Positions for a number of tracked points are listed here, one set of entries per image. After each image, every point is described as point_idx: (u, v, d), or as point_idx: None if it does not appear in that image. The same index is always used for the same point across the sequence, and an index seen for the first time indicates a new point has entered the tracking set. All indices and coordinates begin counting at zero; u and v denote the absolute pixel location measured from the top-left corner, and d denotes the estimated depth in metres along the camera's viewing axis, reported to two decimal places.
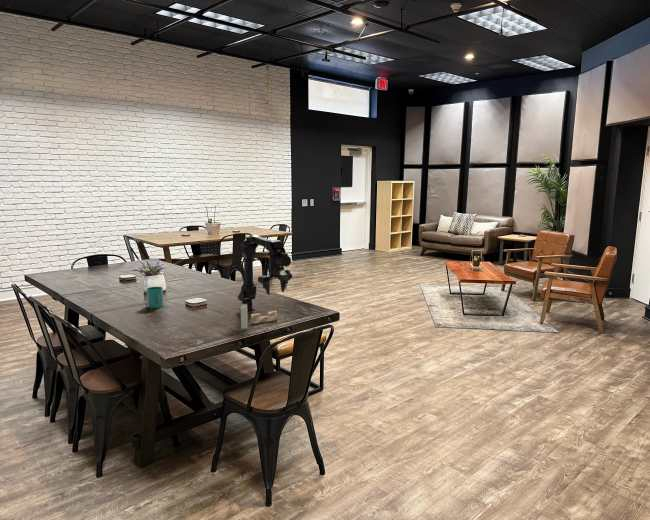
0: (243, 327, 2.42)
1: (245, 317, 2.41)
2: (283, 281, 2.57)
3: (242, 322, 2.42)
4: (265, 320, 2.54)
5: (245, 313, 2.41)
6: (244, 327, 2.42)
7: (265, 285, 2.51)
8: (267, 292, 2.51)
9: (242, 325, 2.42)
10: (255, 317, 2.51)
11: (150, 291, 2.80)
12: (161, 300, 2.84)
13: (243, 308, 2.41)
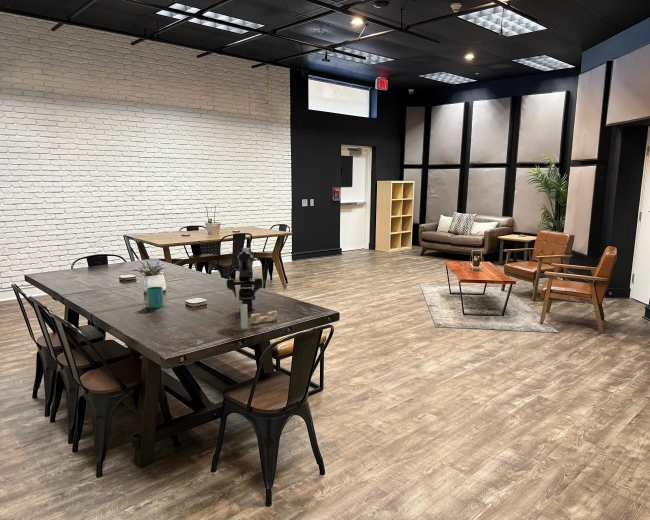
0: (243, 327, 2.42)
1: (245, 317, 2.41)
2: (254, 286, 2.56)
3: (242, 322, 2.42)
4: (265, 320, 2.54)
5: (245, 313, 2.41)
6: (244, 327, 2.42)
7: None
8: None
9: (242, 325, 2.42)
10: (255, 317, 2.51)
11: (150, 291, 2.80)
12: (161, 300, 2.84)
13: (243, 308, 2.41)
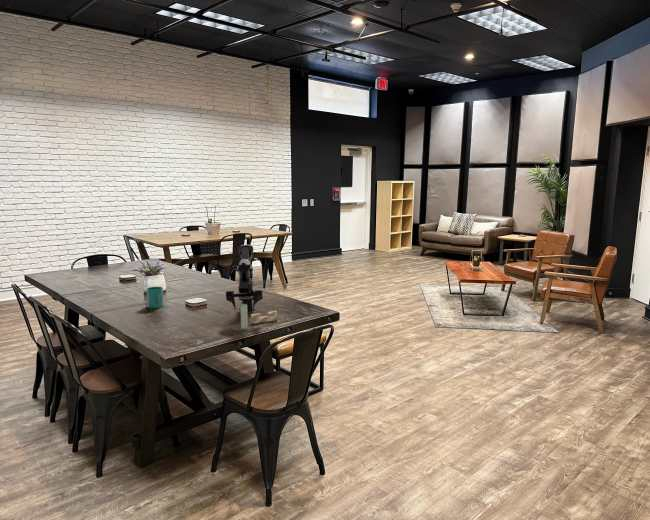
0: (243, 327, 2.42)
1: (245, 317, 2.41)
2: (254, 298, 2.50)
3: (242, 322, 2.42)
4: (265, 320, 2.54)
5: (245, 313, 2.41)
6: (244, 327, 2.42)
7: (233, 302, 2.49)
8: (234, 307, 2.46)
9: (242, 325, 2.42)
10: (255, 317, 2.51)
11: (150, 291, 2.80)
12: (161, 300, 2.84)
13: (243, 308, 2.41)
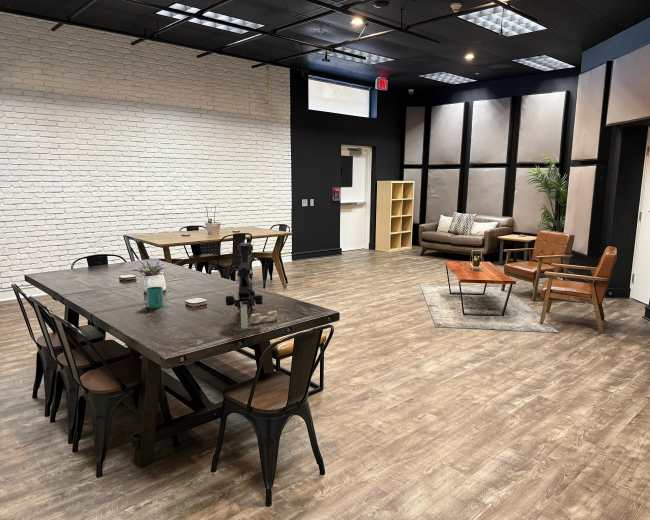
0: (243, 327, 2.42)
1: (245, 317, 2.41)
2: (248, 304, 2.47)
3: (242, 322, 2.42)
4: (265, 320, 2.54)
5: (245, 313, 2.41)
6: (244, 327, 2.42)
7: None
8: None
9: (242, 325, 2.42)
10: (255, 317, 2.51)
11: (150, 291, 2.80)
12: (161, 300, 2.84)
13: (243, 308, 2.41)
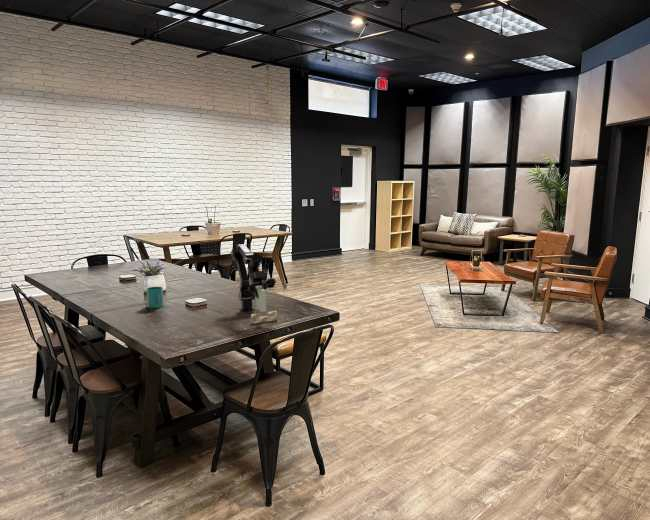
0: (262, 310, 2.49)
1: (264, 300, 2.49)
2: (262, 287, 2.54)
3: (261, 305, 2.48)
4: (265, 320, 2.54)
5: (264, 296, 2.48)
6: (263, 310, 2.49)
7: (253, 291, 2.53)
8: (256, 296, 2.51)
9: (262, 308, 2.49)
10: (255, 317, 2.51)
11: (150, 291, 2.80)
12: (161, 300, 2.84)
13: (262, 291, 2.48)
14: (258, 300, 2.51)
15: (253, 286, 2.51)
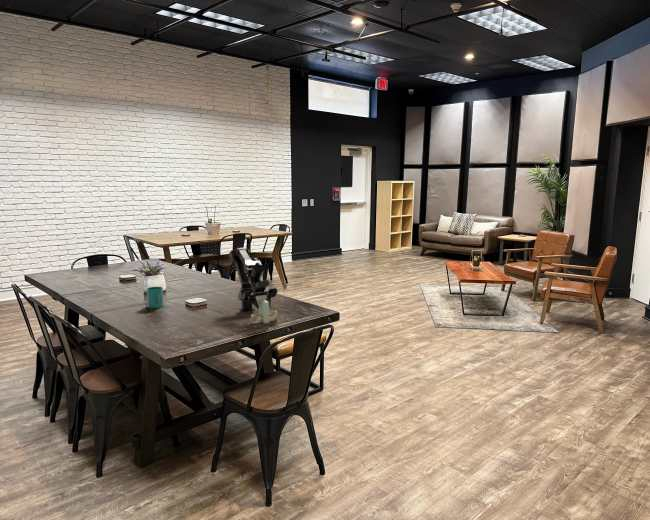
0: (266, 321, 2.52)
1: (268, 312, 2.51)
2: (267, 297, 2.58)
3: (265, 317, 2.51)
4: None
5: (267, 308, 2.51)
6: (266, 321, 2.52)
7: (253, 301, 2.54)
8: (256, 306, 2.52)
9: (265, 319, 2.51)
10: (255, 317, 2.51)
11: (150, 291, 2.80)
12: (161, 300, 2.84)
13: (266, 303, 2.50)
14: (261, 312, 2.53)
15: (253, 296, 2.52)
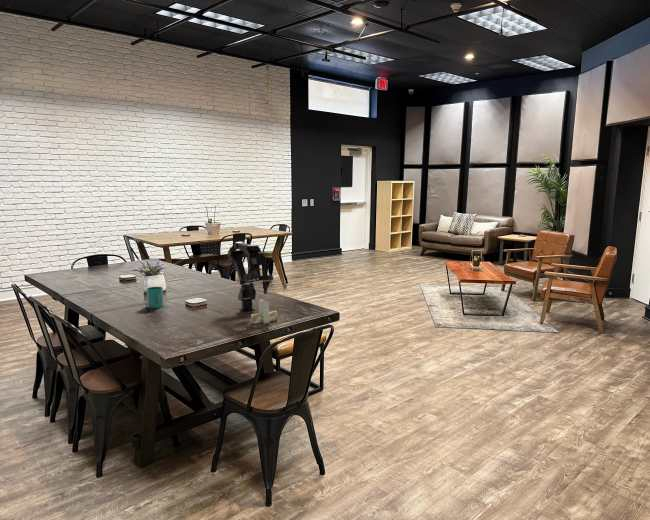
0: (266, 321, 2.52)
1: (268, 312, 2.51)
2: None
3: (265, 317, 2.51)
4: None
5: (267, 308, 2.51)
6: (266, 321, 2.52)
7: None
8: None
9: (265, 319, 2.51)
10: (255, 317, 2.51)
11: (150, 291, 2.80)
12: (161, 300, 2.84)
13: (266, 303, 2.50)
14: (261, 312, 2.53)
15: (245, 286, 2.63)
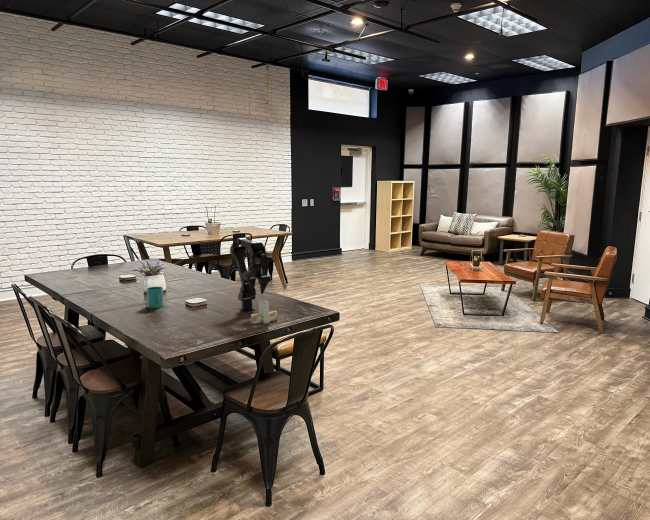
0: (266, 321, 2.52)
1: (268, 312, 2.51)
2: None
3: (265, 317, 2.51)
4: None
5: (267, 308, 2.51)
6: (266, 321, 2.52)
7: None
8: None
9: (265, 319, 2.51)
10: (255, 317, 2.51)
11: (150, 291, 2.80)
12: (161, 300, 2.84)
13: (266, 303, 2.50)
14: (261, 312, 2.53)
15: (247, 280, 2.66)
